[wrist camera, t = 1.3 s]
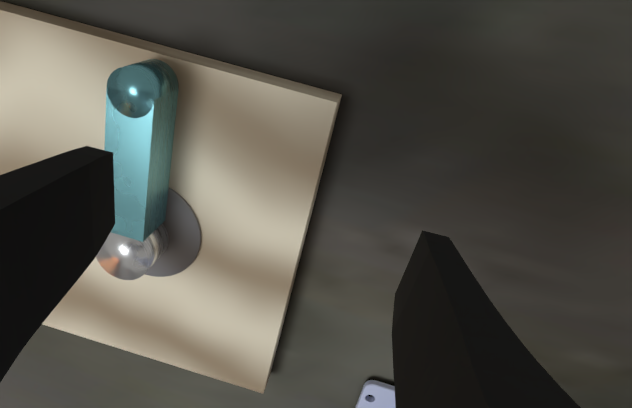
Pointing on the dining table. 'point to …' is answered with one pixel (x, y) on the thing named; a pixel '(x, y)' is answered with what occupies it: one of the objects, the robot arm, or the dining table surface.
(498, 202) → the dining table surface
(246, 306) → the latch board
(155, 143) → the teal rounded rod
